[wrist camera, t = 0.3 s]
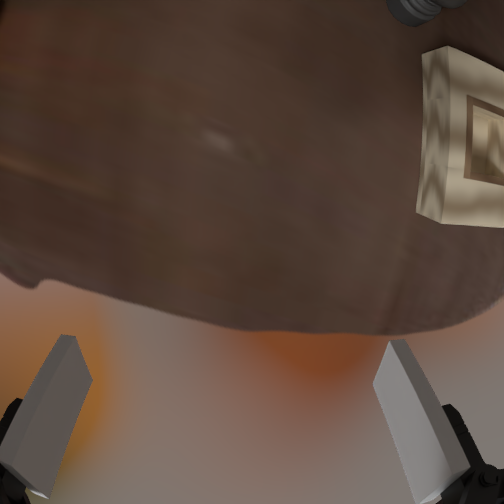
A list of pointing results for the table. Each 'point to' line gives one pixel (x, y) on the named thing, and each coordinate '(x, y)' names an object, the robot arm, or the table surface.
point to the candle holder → (419, 9)
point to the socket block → (462, 140)
